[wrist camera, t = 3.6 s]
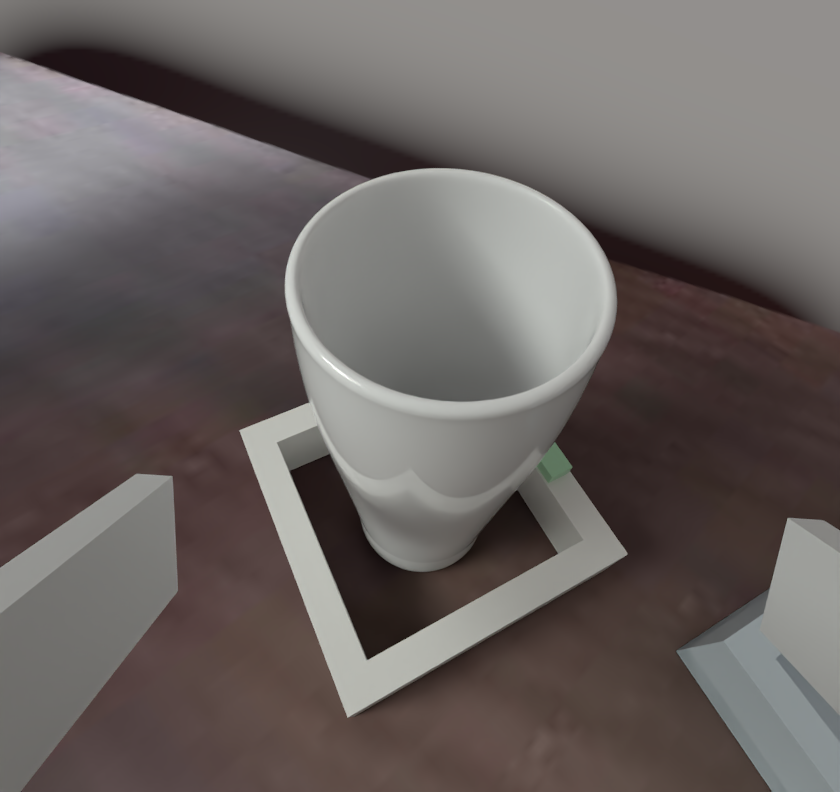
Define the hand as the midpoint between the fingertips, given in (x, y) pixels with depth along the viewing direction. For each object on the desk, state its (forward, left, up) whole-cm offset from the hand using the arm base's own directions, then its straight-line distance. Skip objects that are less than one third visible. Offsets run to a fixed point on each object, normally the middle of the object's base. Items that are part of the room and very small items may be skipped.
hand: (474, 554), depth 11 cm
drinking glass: (-4, +2, -11) cm, 12 cm away
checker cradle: (-4, +2, -11) cm, 12 cm away
